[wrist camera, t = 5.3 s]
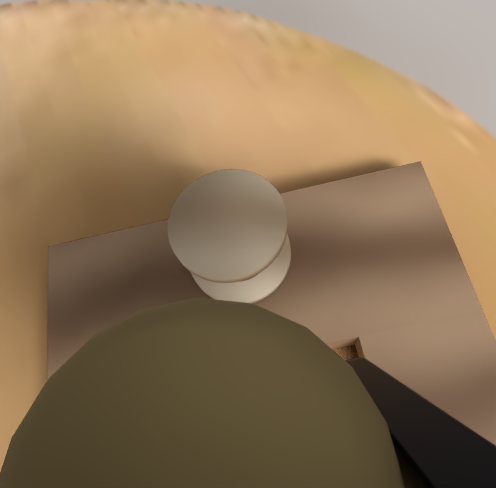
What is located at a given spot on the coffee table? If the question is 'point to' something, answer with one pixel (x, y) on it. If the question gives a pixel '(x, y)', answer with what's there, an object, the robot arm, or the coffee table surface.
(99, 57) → the coffee table surface
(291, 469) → the olive bulb shape
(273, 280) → the notched board
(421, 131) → the coffee table surface
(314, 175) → the coffee table surface
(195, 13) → the coffee table surface
